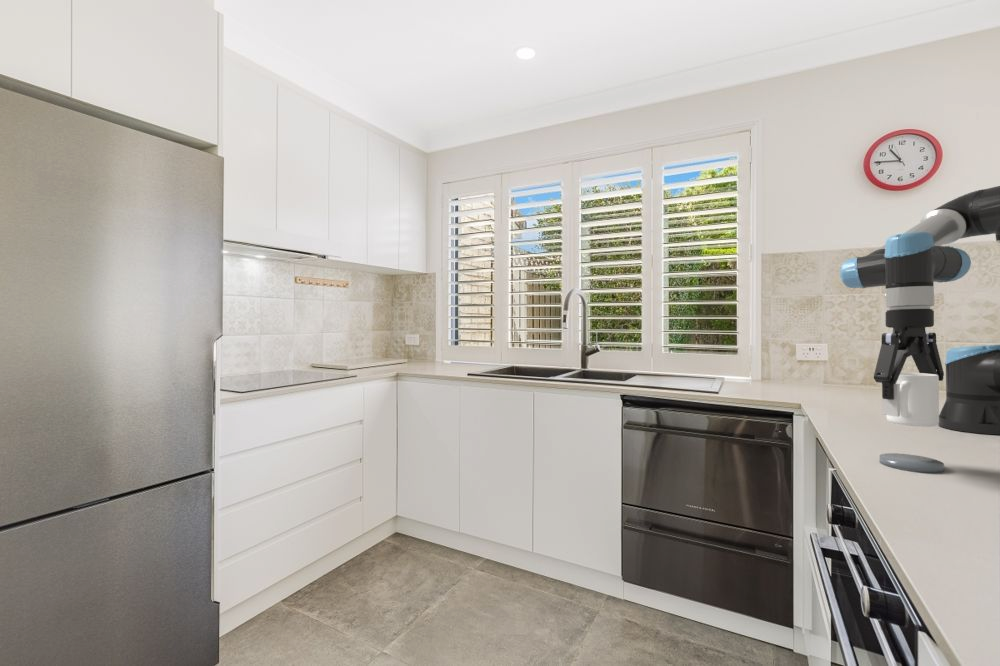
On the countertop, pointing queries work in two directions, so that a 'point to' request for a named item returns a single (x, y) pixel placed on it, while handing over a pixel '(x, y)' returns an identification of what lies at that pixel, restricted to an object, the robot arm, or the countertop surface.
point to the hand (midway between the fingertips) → (909, 413)
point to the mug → (918, 400)
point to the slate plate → (911, 462)
